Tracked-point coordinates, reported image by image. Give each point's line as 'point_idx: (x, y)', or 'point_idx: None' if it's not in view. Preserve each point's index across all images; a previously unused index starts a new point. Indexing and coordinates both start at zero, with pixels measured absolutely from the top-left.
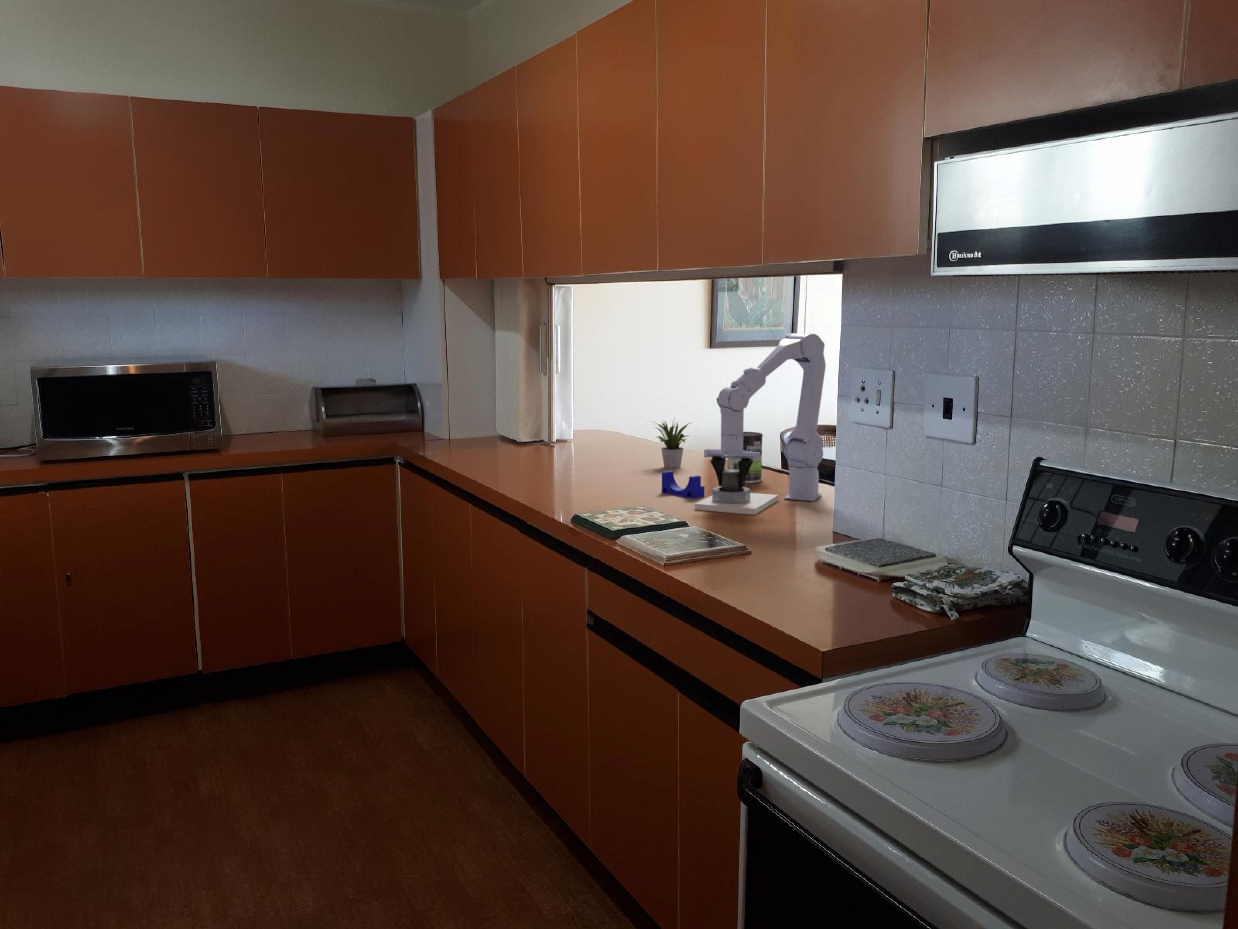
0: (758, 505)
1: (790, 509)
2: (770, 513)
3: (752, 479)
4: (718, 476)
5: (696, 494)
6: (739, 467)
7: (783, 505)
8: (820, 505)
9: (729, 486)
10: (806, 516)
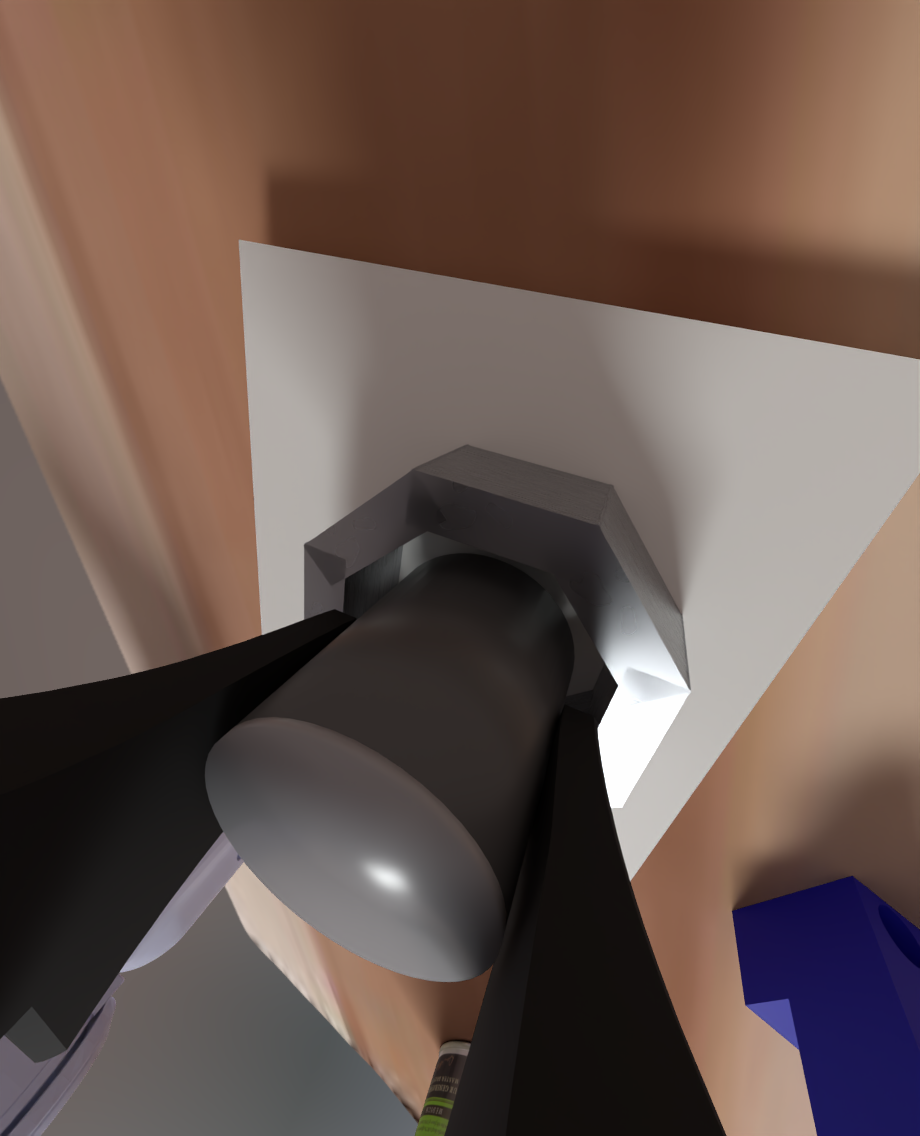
0: (263, 421)
1: (173, 514)
2: (214, 359)
3: (462, 1063)
4: (586, 818)
5: (821, 918)
6: (54, 757)
7: (235, 617)
8: (118, 618)
9: (444, 602)
10: (36, 315)
